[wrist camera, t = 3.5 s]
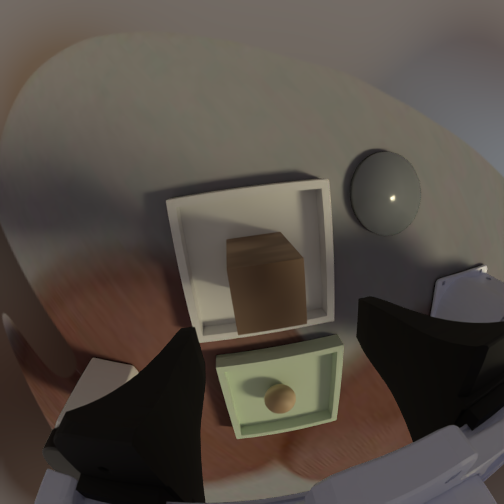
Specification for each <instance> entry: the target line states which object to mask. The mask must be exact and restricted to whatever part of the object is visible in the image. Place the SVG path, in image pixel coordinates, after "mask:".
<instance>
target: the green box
mask: <svg viewBox="0 0 504 504" xmlns="http://www.w3.org/2000/svg"><path fill="white" fill-rule="evenodd" d="M343 352H344V344H343V343H342V341H341V339H340V338H339V336H338V335H337V334H336V335H331V336H327V337H322V338H318V339H313V340H308V341H303V342H298V343H293V344H288V345H282V346H277V347H271V348H265V349H258V350H252V351H245V352H238V353H230V354H222V355H216V370H217V374H218V377H219V381H220V384H221V388H222V392H223V395H224V399H225V402H226V405H227V409H228V412H229V415H230V419H231V422H232V425H233V428H234V432H235V435H236V438H237V439H241V438H249V437H257V436H264V435H270V434H276V433H282V432H287V431H292V430H297V429H302V428H306V427H311V426H315V425H319V424H323V423H327V422H331V421H335V420H336V419H337V412H338V404H339V395H340V386H341V376H342V365H343ZM277 384H284V385H287V386H289V387H290V388H292V389H293V391H294V392H295V395H296V402H295V405H294V406H293V408H292V409H291V410H290V411H288V412H286V413H282V414H277V413H273V412H271V411H270V410H269V409H268V408H267V407H266V405H265V402H264V396H265V393H266V392H267V390H268V389H269V388H270V387H272V386H274V385H277Z"/></svg>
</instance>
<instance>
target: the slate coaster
mask: <svg viewBox="0 0 504 504" xmlns="http://www.w3.org/2000/svg"><path fill="white" fill-rule="evenodd" d="M350 198H351V204H352V208H353V211H354V213H355V215H356V217H357V219H358V220H359V222H360V223H361V224H362V225H363V226H364V227H365V228H366V229H368V230H370V231H371V232H374V233H376V234H378V235H383V236H391V235H395V234H398V233H400V232H402V231H403V230H405V229H406V228H407V227H408V226H409V225H410V224H411V223H412V221H413V220H414V218H415V216H416V214H417V212H418V209H419V205H420V200H421V187H420V182H419V178H418V176H417V173H416V171H415V169H414V168H413V166H412V165H411V164H410V162H409V161H408V160H406V159H405V158H404V157H403V156H401V155H399V154H397V153H393V152H378V153H374V154H372V155H370V156H368V157H367V158H365V159H364V160H363V161H362V162H361V163H360V164H359V166H358V167H357V169H356V171H355V173H354V175H353V178H352V182H351V188H350Z"/></svg>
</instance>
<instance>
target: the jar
mask: <svg viewBox="0 0 504 504" xmlns="http://www.w3.org/2000/svg"><path fill="white" fill-rule="evenodd" d="M138 373H139V372H138V371H137V369H136V368H135V367H134V366H133V365H128V364H123V363H118V362H113V361H108V360H103V359H99V358H92V359H91V360H90V362H89V364H88V365H87V367H86V369H85V370H84V372H83V374H82V376H81V377H80V379H79V381H78V383H77V384H76V386H75V388H74V390H73V391H72V393H71V395H70V397H69V399H68V401H67V402H66V404H65V406H64V408H63V410H62V412H61V414H60V416H59V417H58V419H57V422H56V425H55V428H54V429H53V430H52V432H51V434H50V436H49V438H48V440H47V442H46V444H45V446H44V448H43V456H44V458H45V460H46V461H47V463H48V464H49V465H50V466H51V467H52V468H53V469H54V470H55V471H57V472H60V473H63V474H66V475H69V476H72V477H74V478H76V479H77V480H79V477H80V474H81V473H80V472H79V471H78V470H76V469H75V468H74V467H73V466H72V465H71V464H70V463H69V462H68V461H67V460H66V459H65V458H64V457H63V455H62V454H61V453H60V452H59V451H58V449H57V448H56V446H55V443H54V435H55V433H56V431H57V429H58V427H59V425H60V423H61V421H62V419H63V417H64V415H65V413H66V412H67V411H70V410H73V409H76V408H78V407H81V406H84V405H86V404H89V403H91V402H93V401H95V400H97V399H100V398H102V397H103V396H105V395H107V394H109V393H111V392H112V391H114V390H116V389H117V388H119V387H120V386H122V385H123V384H125V383H126V382H128V381H129V380H130V379H132V378H133V377H134V376H136V375H137V374H138Z"/></svg>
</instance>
